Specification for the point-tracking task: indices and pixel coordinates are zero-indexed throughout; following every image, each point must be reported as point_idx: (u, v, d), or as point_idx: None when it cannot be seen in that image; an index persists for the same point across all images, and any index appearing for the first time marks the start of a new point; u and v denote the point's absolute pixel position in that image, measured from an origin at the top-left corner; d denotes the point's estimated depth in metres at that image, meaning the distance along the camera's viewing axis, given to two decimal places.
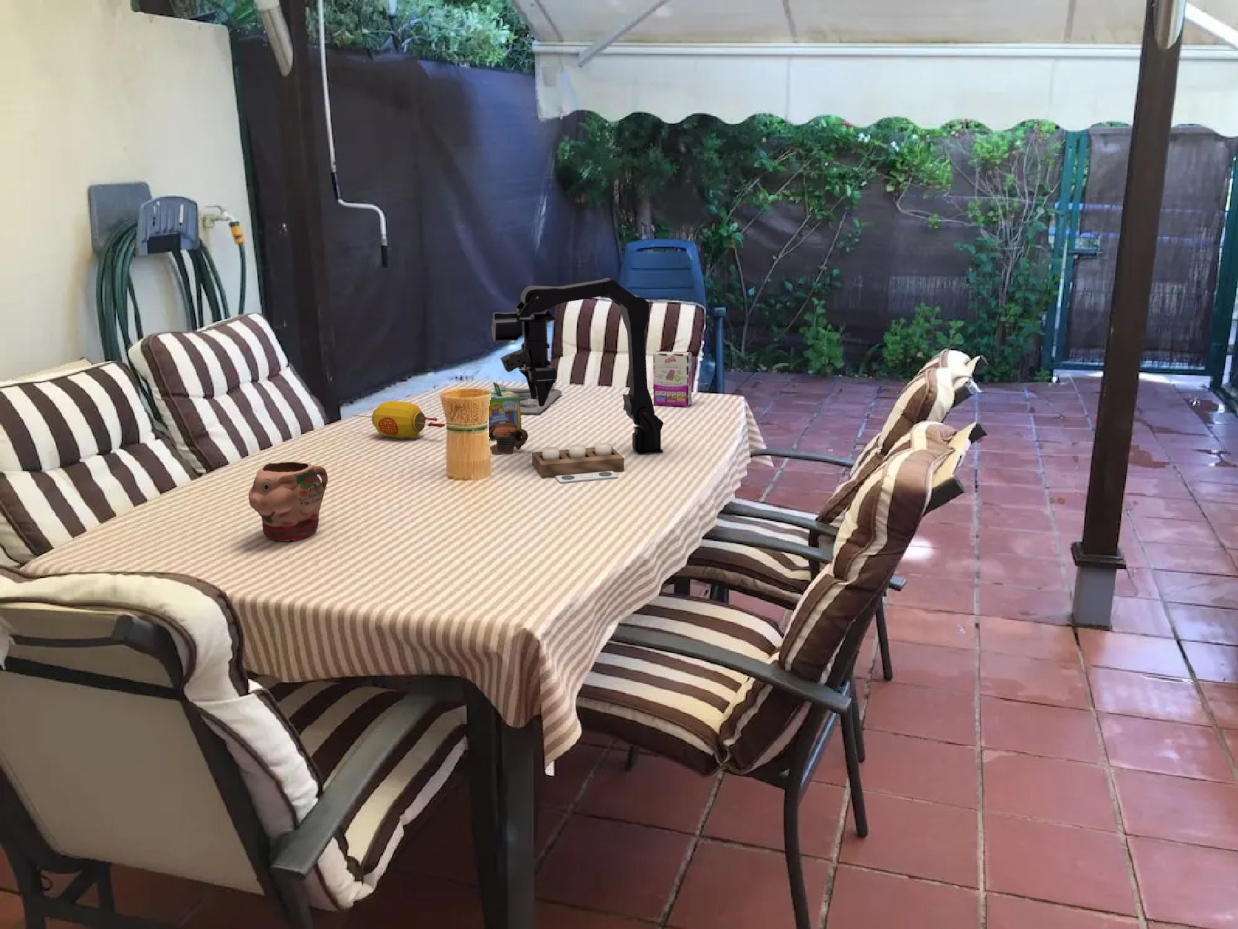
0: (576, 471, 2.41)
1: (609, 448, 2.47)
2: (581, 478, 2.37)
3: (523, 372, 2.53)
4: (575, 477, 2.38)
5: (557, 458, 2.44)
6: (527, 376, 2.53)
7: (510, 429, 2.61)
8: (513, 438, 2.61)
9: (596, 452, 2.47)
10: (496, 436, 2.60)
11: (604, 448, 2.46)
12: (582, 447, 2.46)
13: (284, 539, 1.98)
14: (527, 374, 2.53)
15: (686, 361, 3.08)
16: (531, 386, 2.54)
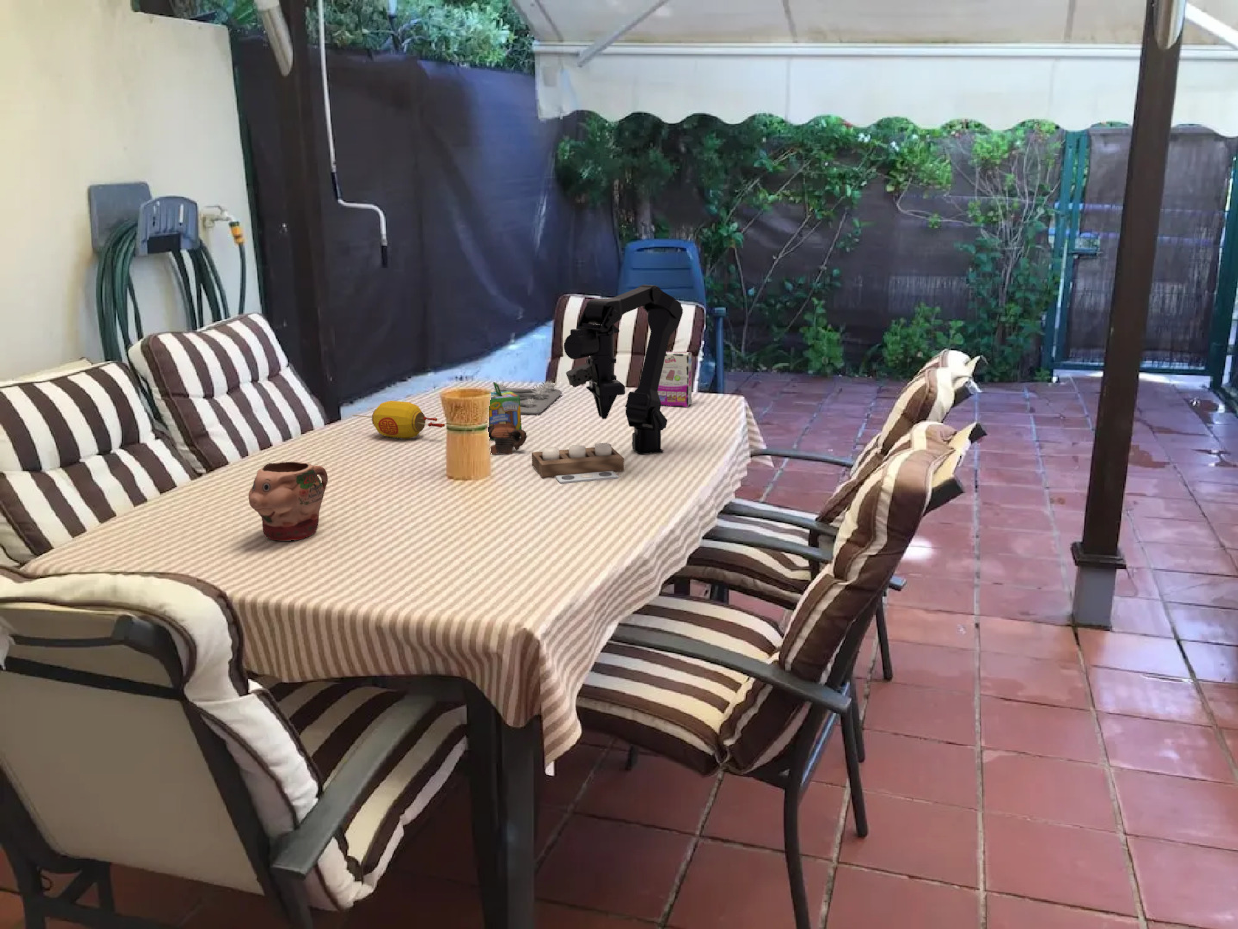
0: (576, 471, 2.41)
1: (609, 448, 2.47)
2: (581, 478, 2.37)
3: (591, 389, 2.45)
4: (575, 477, 2.38)
5: (557, 458, 2.44)
6: None
7: (509, 430, 2.61)
8: (512, 438, 2.60)
9: (596, 452, 2.47)
10: (495, 436, 2.60)
11: (604, 448, 2.46)
12: (582, 447, 2.46)
13: (284, 539, 1.98)
14: (595, 391, 2.45)
15: (686, 361, 3.08)
16: (598, 404, 2.46)
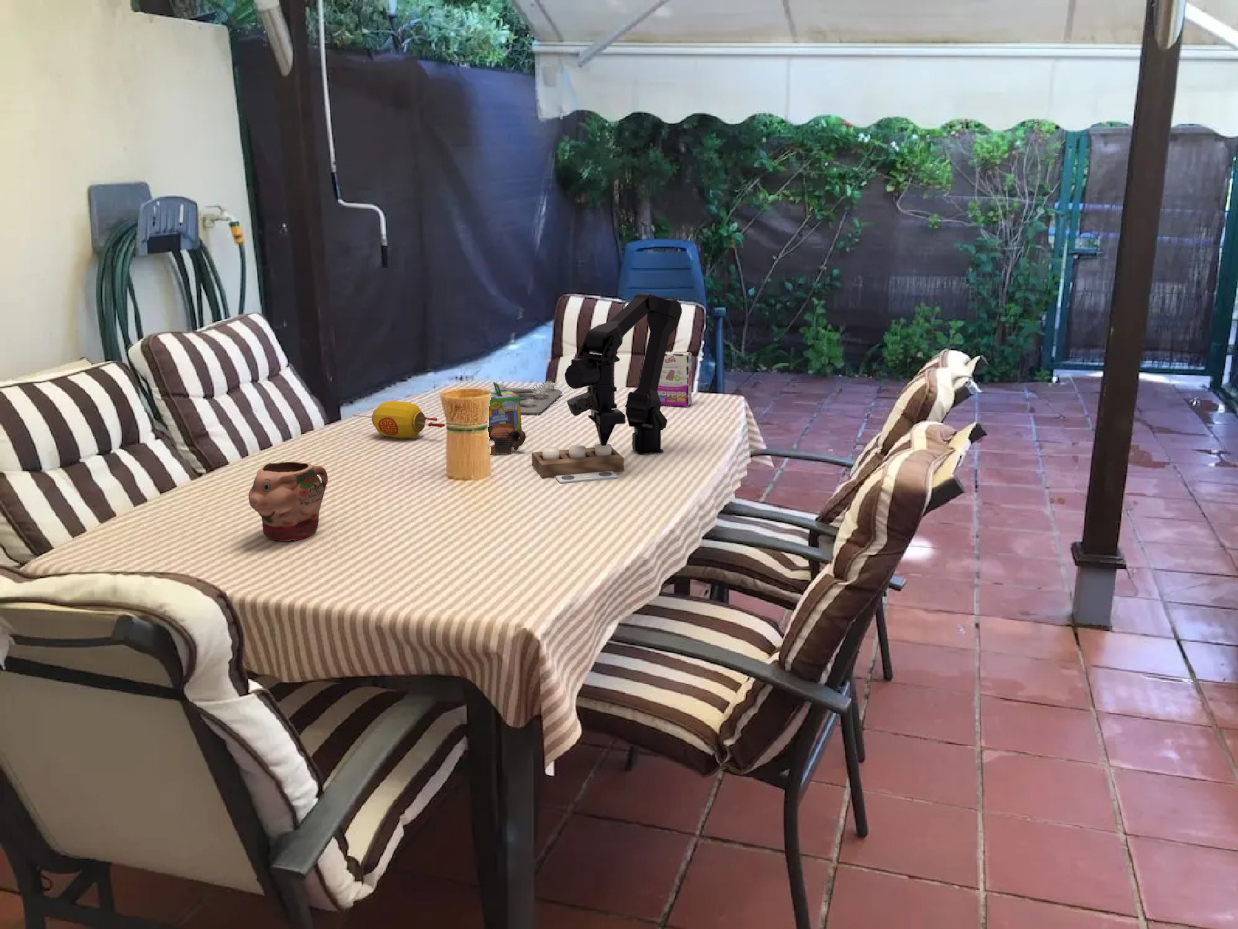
0: (576, 471, 2.41)
1: (609, 448, 2.47)
2: (581, 478, 2.37)
3: (592, 418, 2.46)
4: (575, 477, 2.38)
5: (557, 458, 2.44)
6: (596, 422, 2.46)
7: (508, 430, 2.61)
8: (511, 439, 2.60)
9: (596, 452, 2.47)
10: (494, 437, 2.60)
11: (604, 448, 2.46)
12: (582, 447, 2.46)
13: (284, 539, 1.98)
14: None
15: (686, 361, 3.08)
16: None
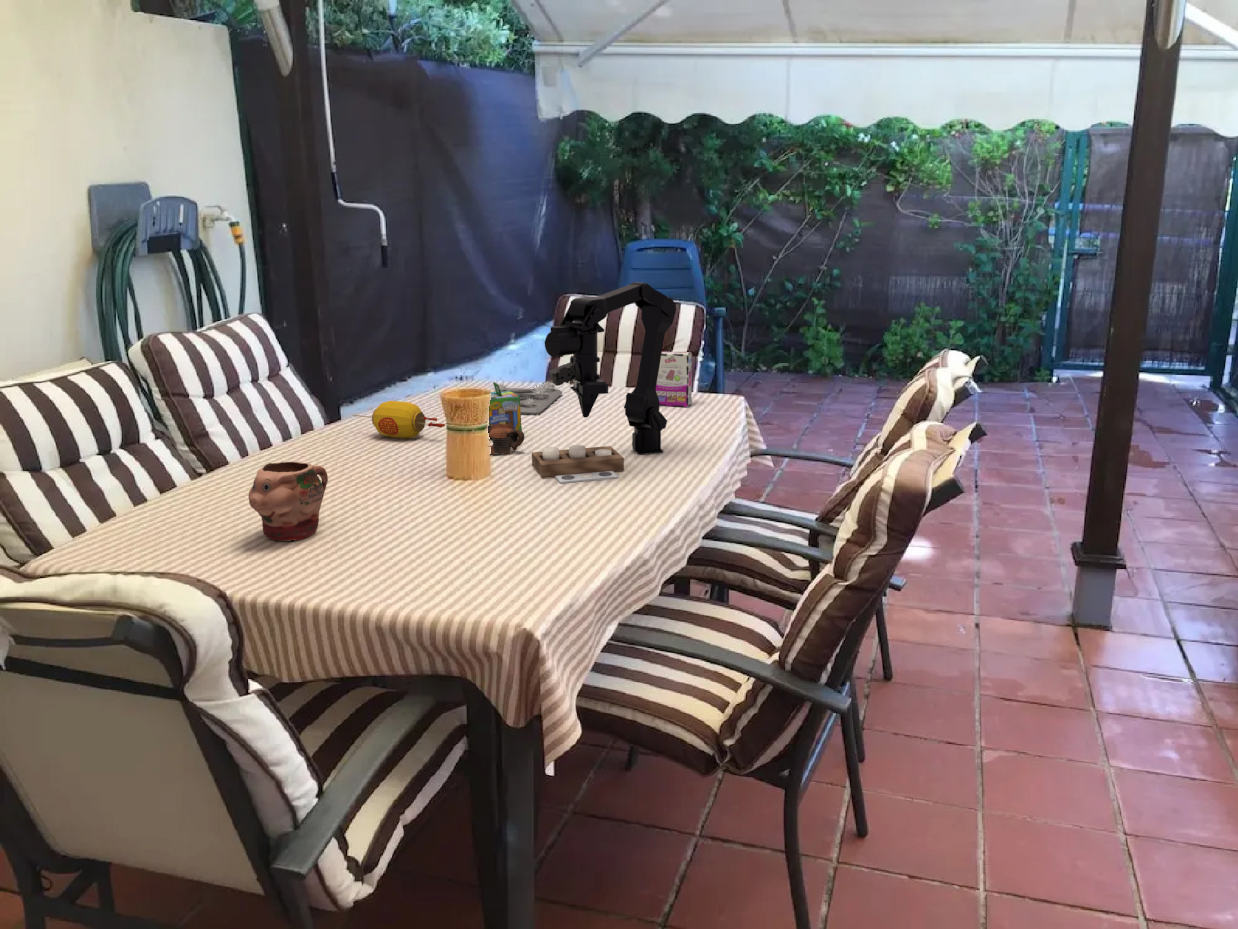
0: (576, 471, 2.41)
1: (609, 454, 2.47)
2: (581, 478, 2.37)
3: (575, 389, 2.43)
4: (575, 477, 2.38)
5: (557, 458, 2.44)
6: None
7: (506, 430, 2.60)
8: (509, 439, 2.60)
9: None
10: (492, 437, 2.59)
11: (604, 454, 2.46)
12: (582, 447, 2.46)
13: (284, 539, 1.98)
14: None
15: (686, 361, 3.08)
16: None
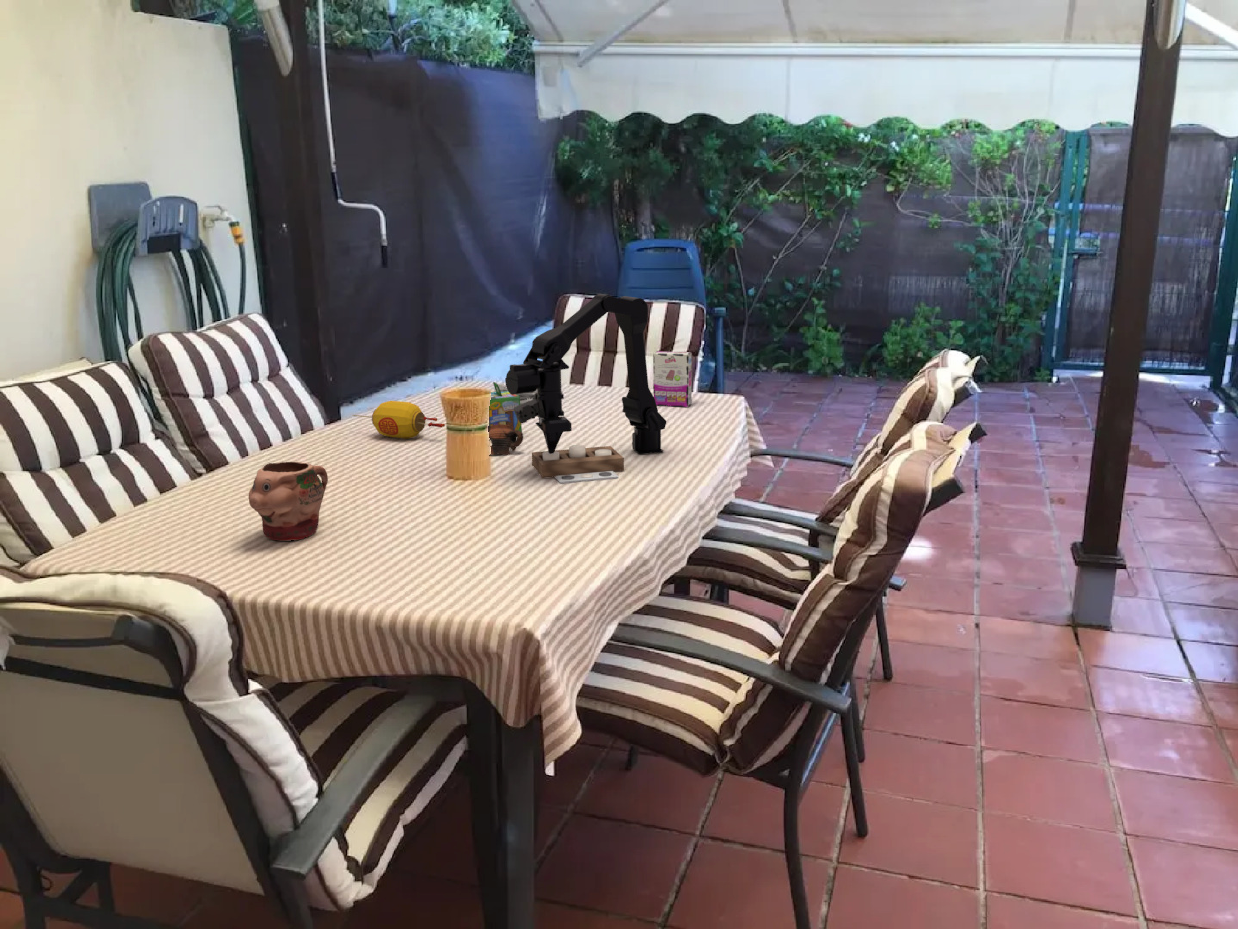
0: (576, 471, 2.41)
1: (609, 454, 2.47)
2: (581, 478, 2.37)
3: (540, 426, 2.43)
4: (575, 477, 2.38)
5: None
6: None
7: (505, 431, 2.60)
8: (508, 439, 2.60)
9: None
10: (491, 437, 2.59)
11: (604, 454, 2.46)
12: (582, 447, 2.46)
13: (284, 539, 1.98)
14: None
15: (686, 361, 3.08)
16: None
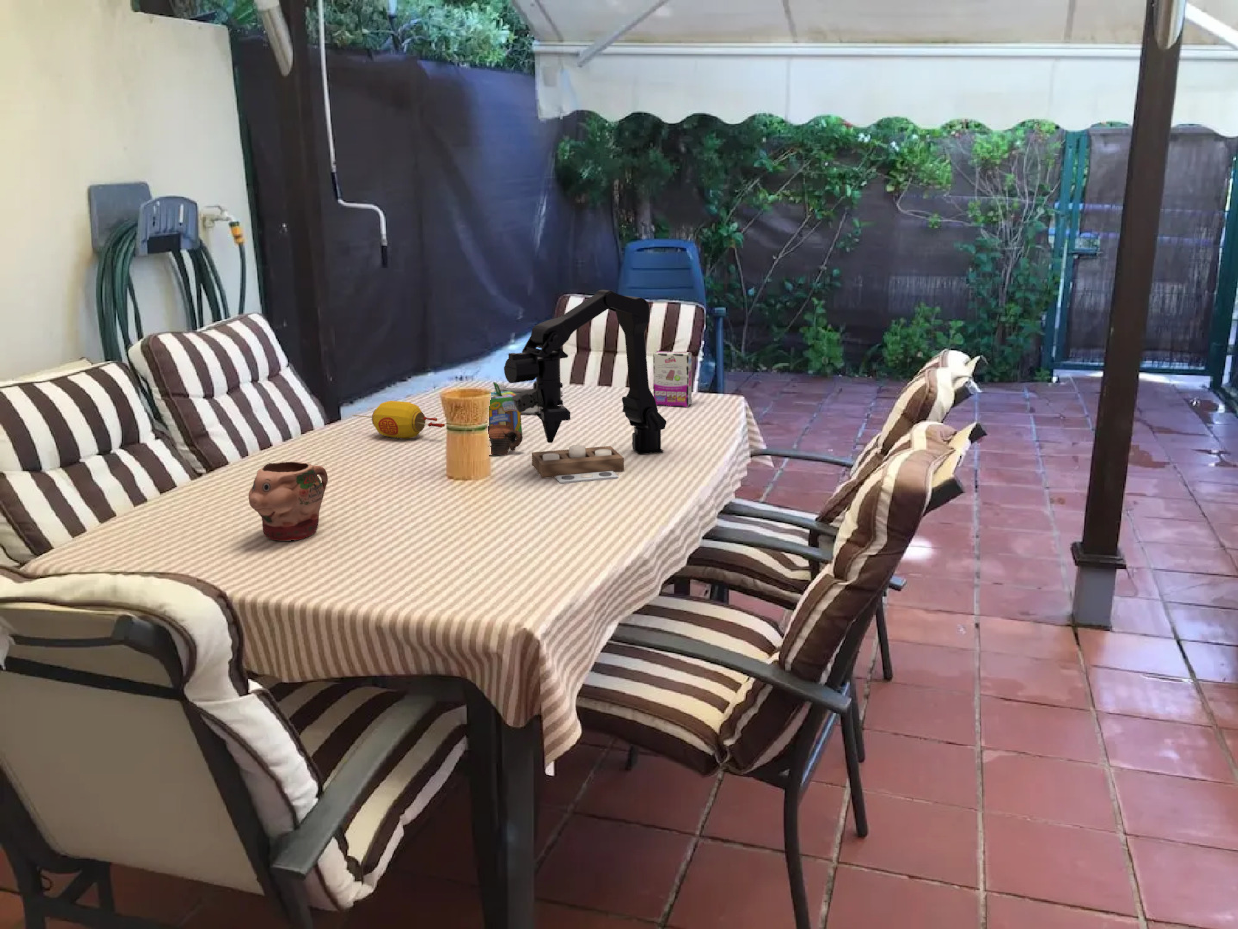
0: (576, 471, 2.41)
1: (609, 454, 2.47)
2: (581, 478, 2.37)
3: (539, 415, 2.42)
4: (575, 477, 2.38)
5: None
6: None
7: (504, 431, 2.60)
8: (507, 439, 2.59)
9: None
10: (490, 437, 2.59)
11: (604, 454, 2.46)
12: (582, 447, 2.46)
13: (284, 539, 1.98)
14: None
15: (686, 361, 3.08)
16: None
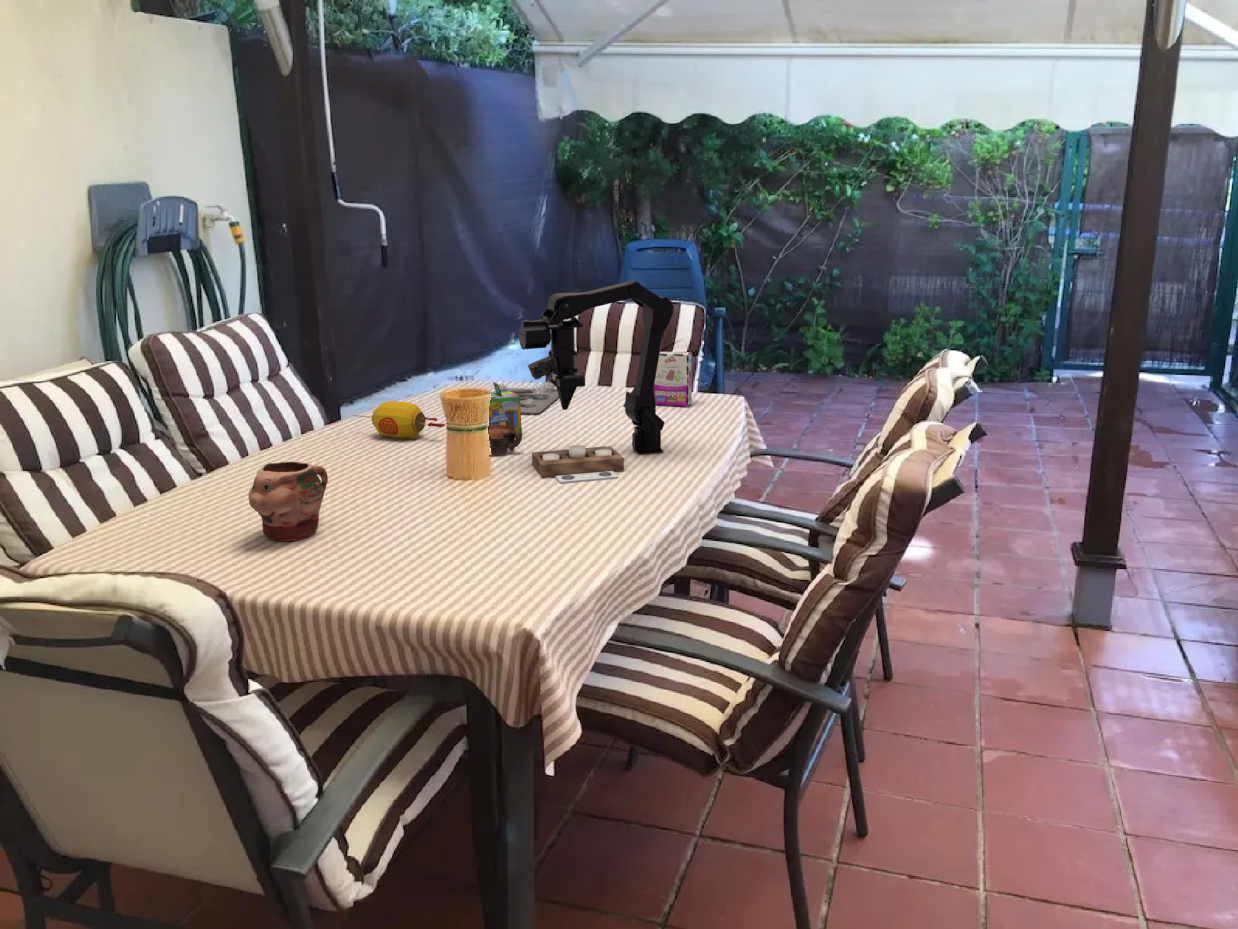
0: (576, 471, 2.41)
1: (609, 454, 2.47)
2: (581, 478, 2.37)
3: (554, 382, 2.49)
4: (575, 477, 2.38)
5: None
6: None
7: (504, 431, 2.60)
8: (507, 440, 2.59)
9: None
10: (489, 438, 2.58)
11: (604, 454, 2.46)
12: (582, 447, 2.46)
13: (284, 539, 1.98)
14: None
15: (686, 361, 3.08)
16: None
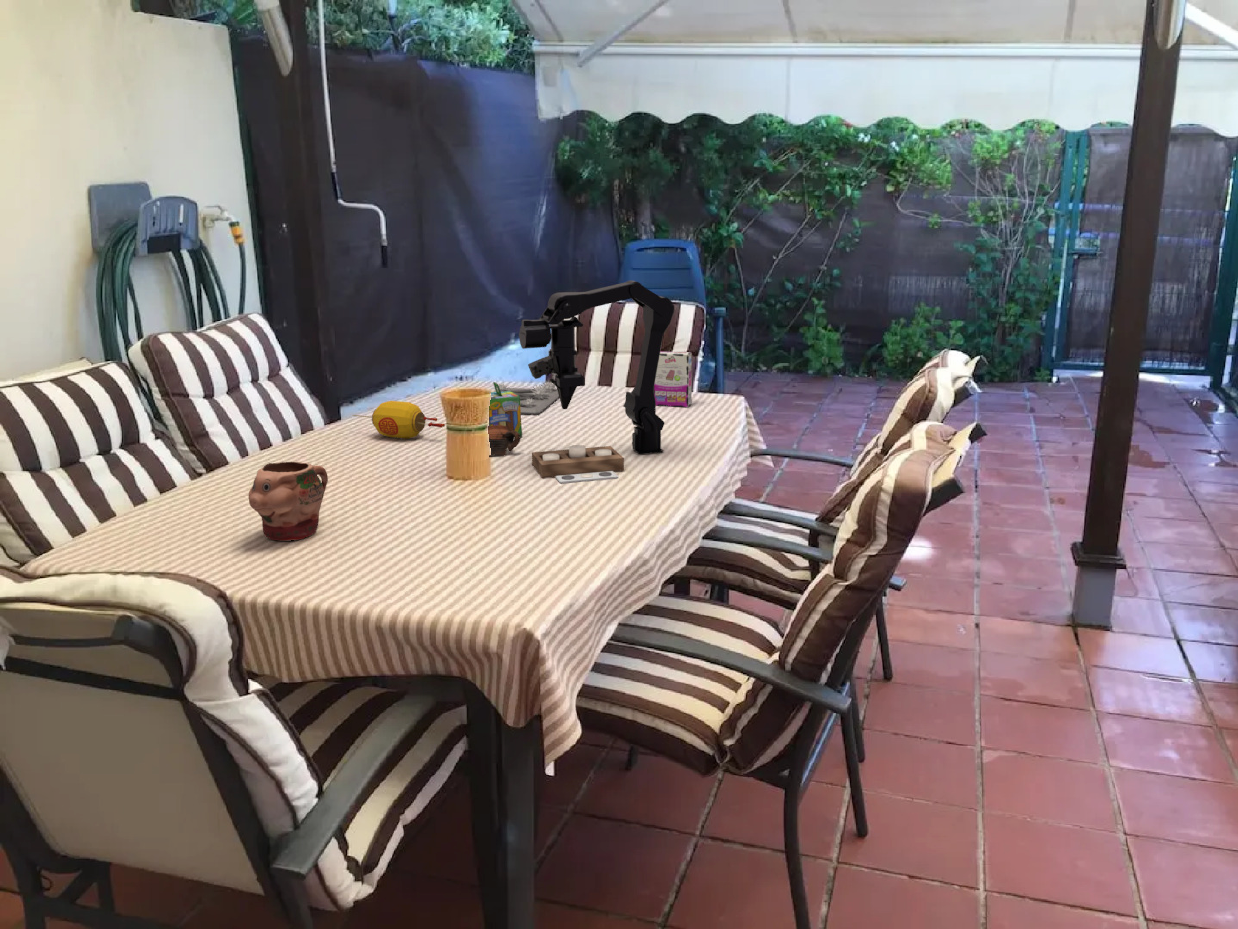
0: (576, 471, 2.41)
1: (609, 454, 2.47)
2: (581, 478, 2.37)
3: (554, 382, 2.49)
4: (575, 477, 2.38)
5: None
6: None
7: (502, 431, 2.59)
8: (505, 440, 2.59)
9: None
10: None
11: (604, 454, 2.46)
12: (582, 447, 2.46)
13: (284, 539, 1.98)
14: None
15: (686, 361, 3.08)
16: None
